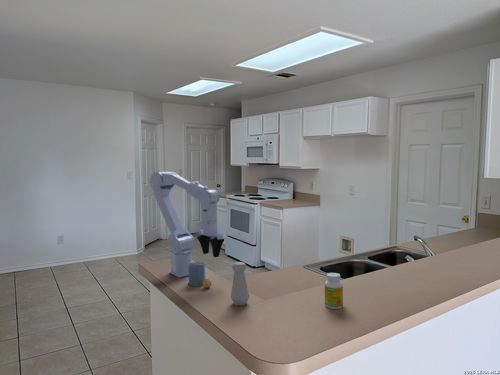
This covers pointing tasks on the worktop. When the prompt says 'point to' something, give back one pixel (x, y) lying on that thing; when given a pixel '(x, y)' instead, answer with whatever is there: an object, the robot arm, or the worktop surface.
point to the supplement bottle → (333, 291)
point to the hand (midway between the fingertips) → (211, 255)
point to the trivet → (195, 285)
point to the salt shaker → (239, 285)
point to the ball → (207, 283)
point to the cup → (196, 273)
